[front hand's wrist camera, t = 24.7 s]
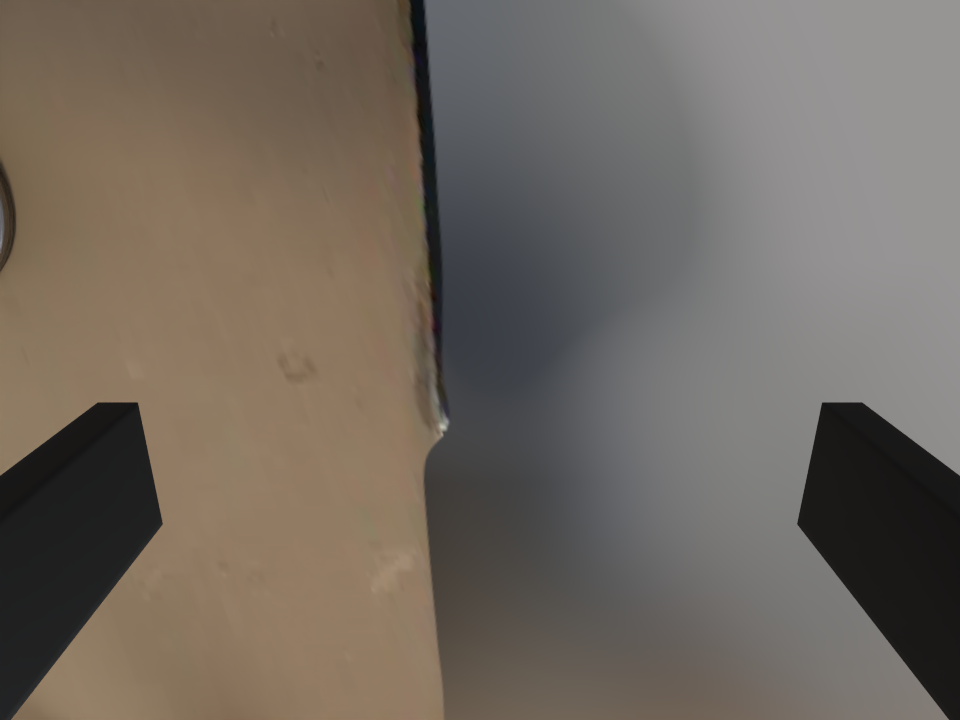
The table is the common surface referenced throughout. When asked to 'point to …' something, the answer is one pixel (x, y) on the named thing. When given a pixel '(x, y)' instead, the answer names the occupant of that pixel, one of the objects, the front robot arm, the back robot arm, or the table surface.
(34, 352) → the table surface
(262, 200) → the table surface
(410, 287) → the table surface
